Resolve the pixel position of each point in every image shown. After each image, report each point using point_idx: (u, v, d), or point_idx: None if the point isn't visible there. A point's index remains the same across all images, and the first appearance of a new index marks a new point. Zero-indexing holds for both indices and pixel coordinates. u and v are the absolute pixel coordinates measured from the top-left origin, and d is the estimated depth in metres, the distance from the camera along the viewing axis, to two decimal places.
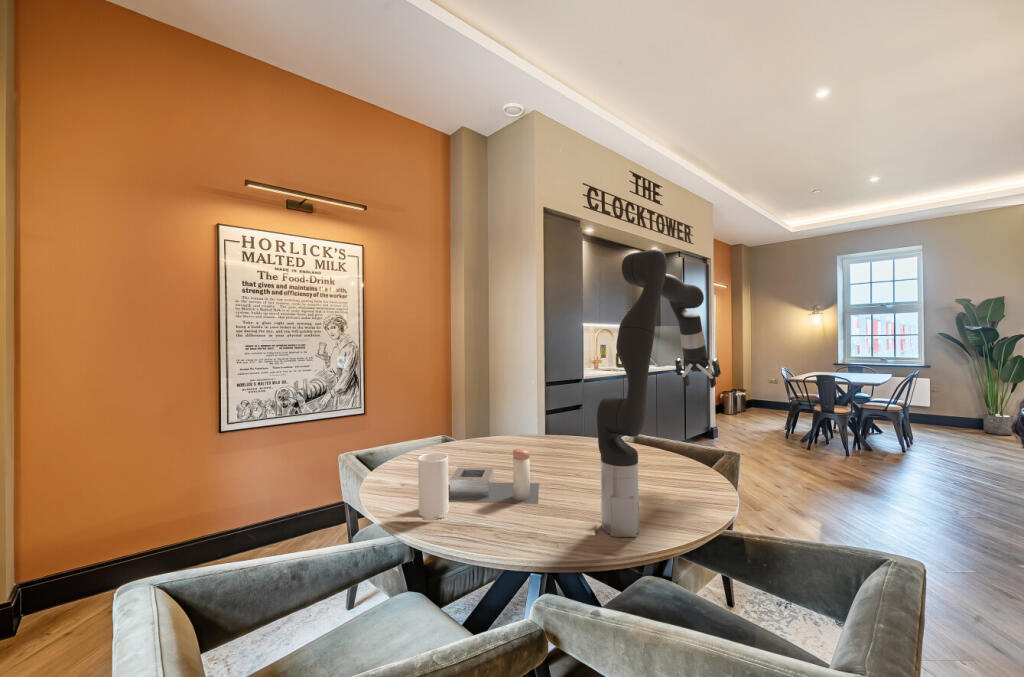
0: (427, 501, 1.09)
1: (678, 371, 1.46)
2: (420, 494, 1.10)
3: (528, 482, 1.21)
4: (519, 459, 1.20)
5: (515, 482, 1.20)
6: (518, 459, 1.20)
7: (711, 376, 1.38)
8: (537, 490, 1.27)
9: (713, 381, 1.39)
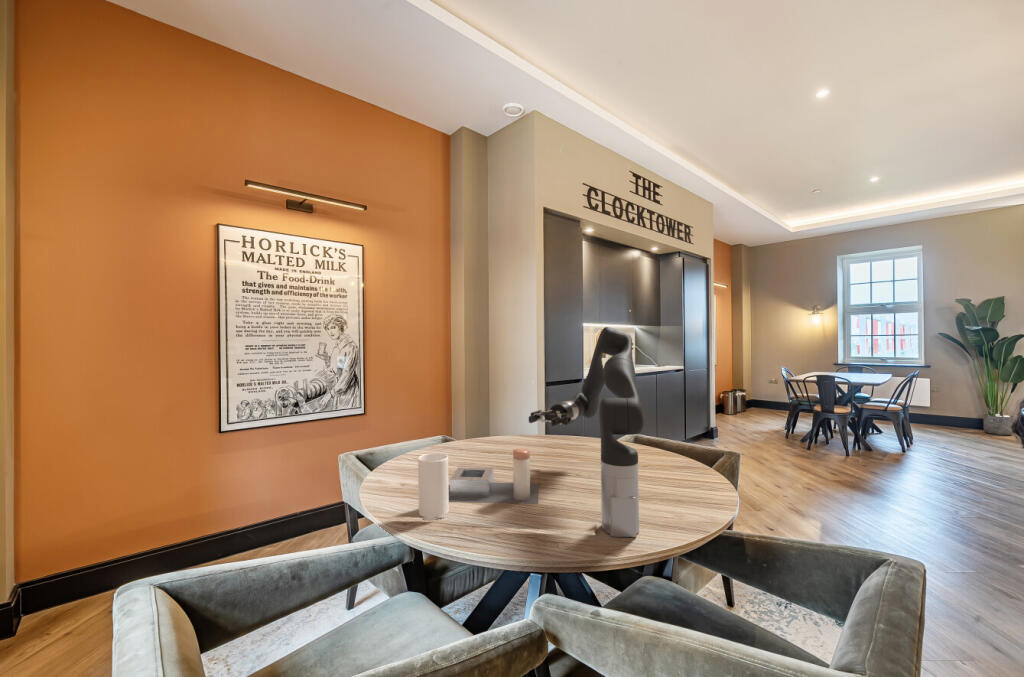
0: (427, 501, 1.09)
1: (534, 412, 1.40)
2: (420, 494, 1.10)
3: (528, 482, 1.21)
4: (519, 459, 1.20)
5: (515, 482, 1.20)
6: (518, 459, 1.20)
7: (560, 416, 1.33)
8: (537, 490, 1.27)
9: (558, 419, 1.31)
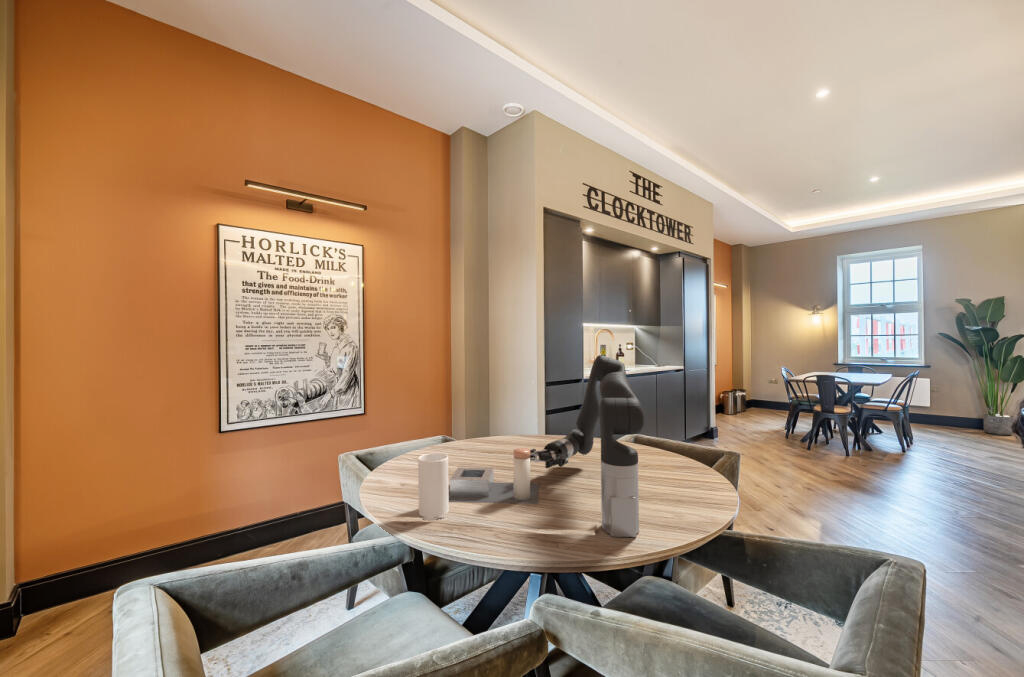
0: (427, 501, 1.09)
1: None
2: (420, 494, 1.10)
3: (528, 482, 1.21)
4: (520, 459, 1.20)
5: (515, 482, 1.20)
6: (519, 459, 1.20)
7: (555, 457, 1.29)
8: (537, 490, 1.27)
9: (552, 461, 1.28)
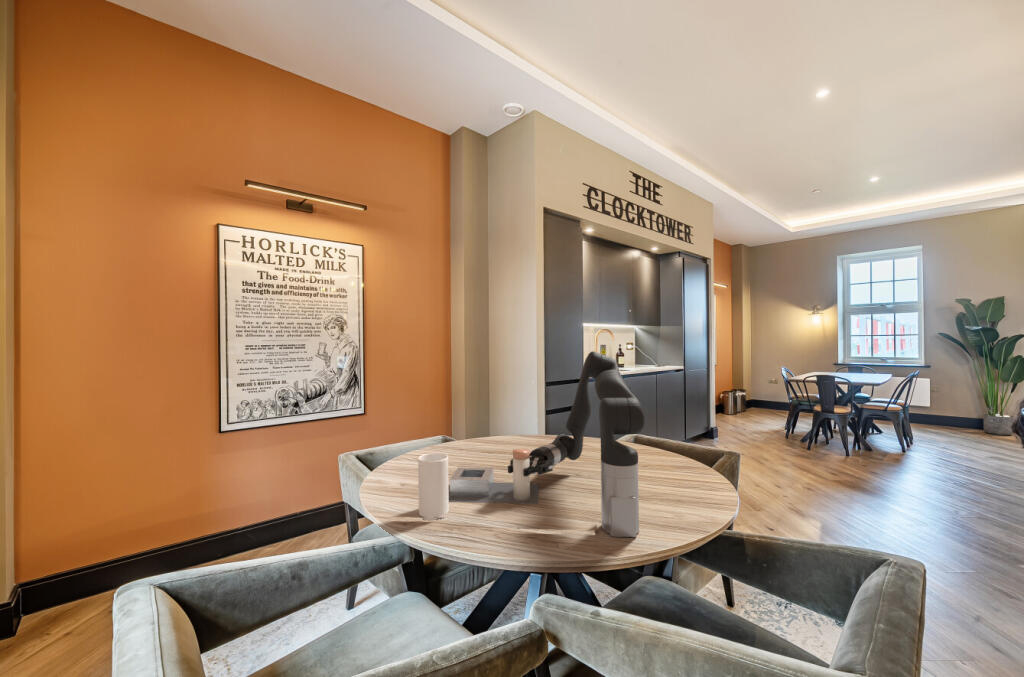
0: (427, 501, 1.09)
1: None
2: (420, 494, 1.10)
3: (528, 482, 1.21)
4: (519, 459, 1.20)
5: (515, 482, 1.20)
6: (518, 459, 1.20)
7: (534, 465, 1.22)
8: (537, 490, 1.27)
9: (531, 469, 1.20)
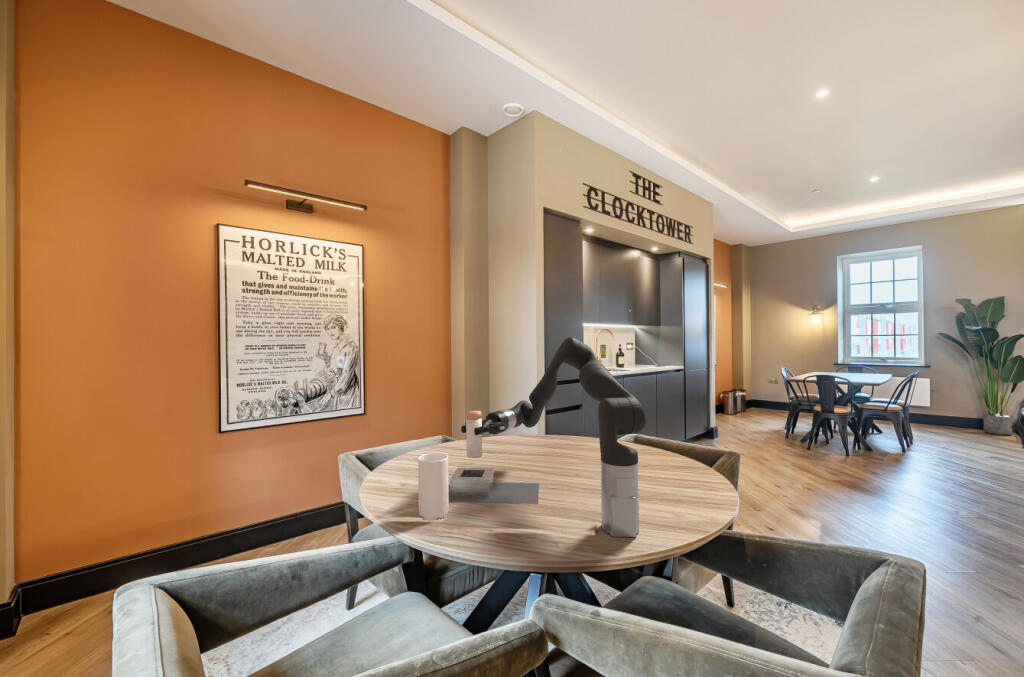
0: (427, 501, 1.09)
1: None
2: (420, 494, 1.10)
3: (480, 441, 1.28)
4: (471, 419, 1.27)
5: (468, 441, 1.28)
6: (470, 419, 1.27)
7: (485, 425, 1.29)
8: (537, 490, 1.27)
9: (482, 428, 1.28)
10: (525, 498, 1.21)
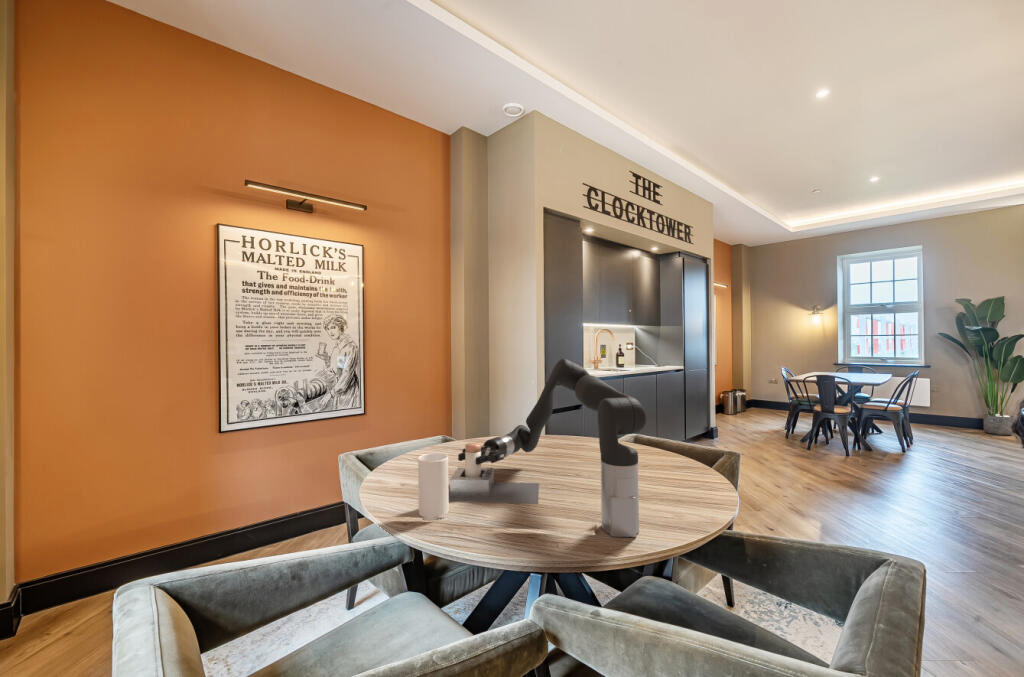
0: (427, 501, 1.09)
1: None
2: (420, 494, 1.10)
3: (479, 474, 1.28)
4: (470, 452, 1.27)
5: (466, 474, 1.28)
6: (469, 452, 1.27)
7: (487, 454, 1.29)
8: (537, 490, 1.27)
9: (483, 457, 1.27)
10: (525, 498, 1.21)
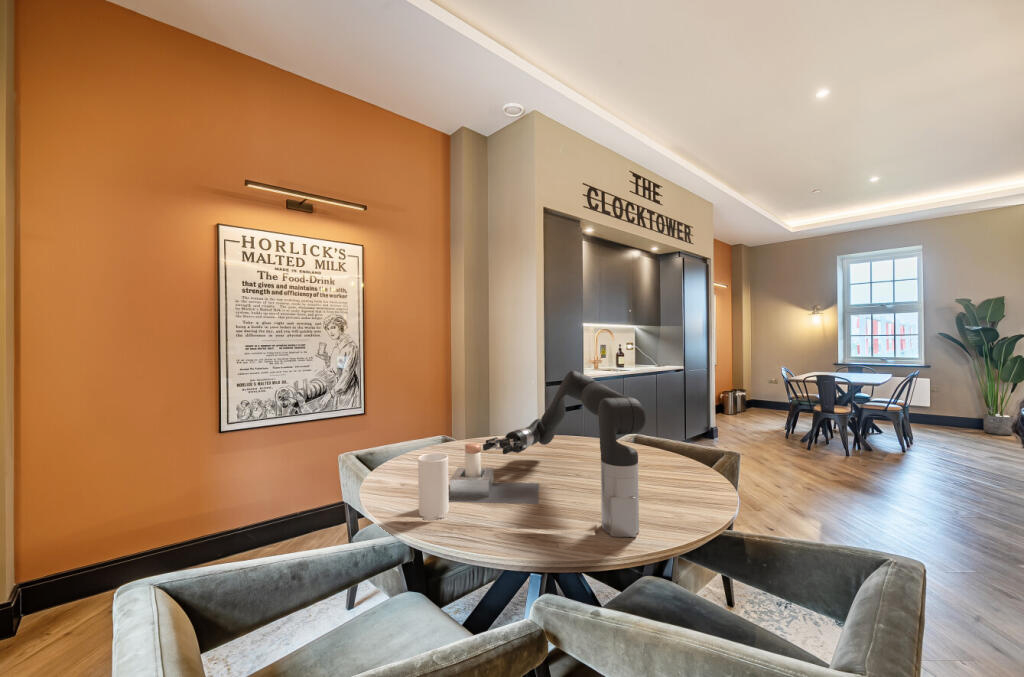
0: (427, 501, 1.09)
1: (489, 440, 1.47)
2: (420, 494, 1.10)
3: (479, 474, 1.28)
4: (470, 453, 1.27)
5: (466, 474, 1.28)
6: (469, 453, 1.27)
7: (512, 444, 1.40)
8: (537, 490, 1.27)
9: (509, 447, 1.38)
10: (525, 498, 1.21)
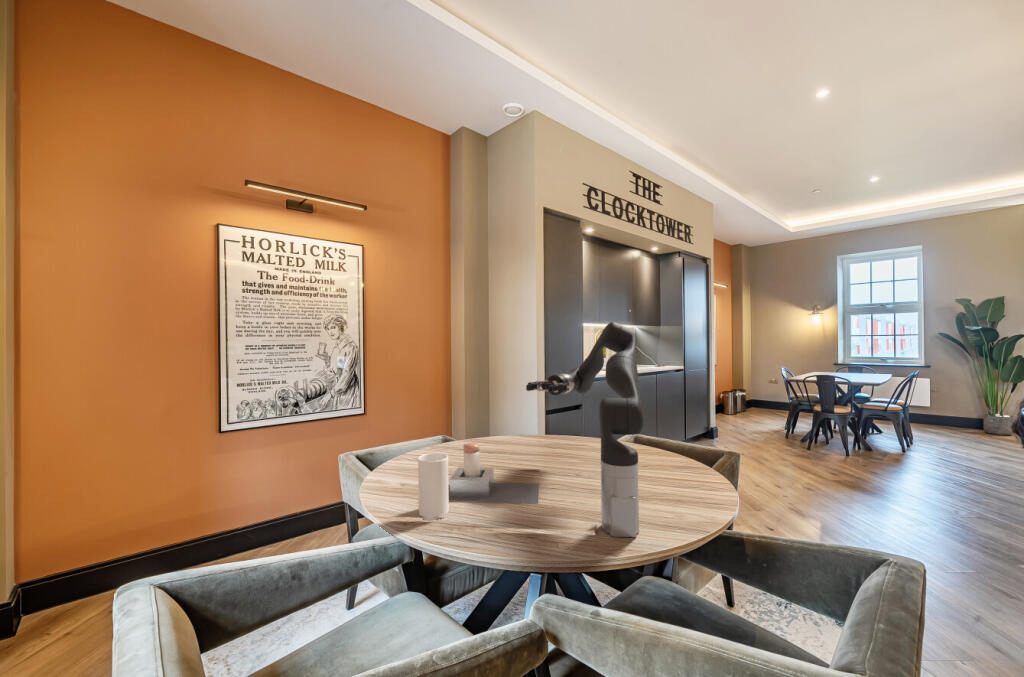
0: (427, 501, 1.09)
1: (531, 382, 1.46)
2: (420, 494, 1.10)
3: (478, 474, 1.28)
4: (469, 452, 1.27)
5: (466, 474, 1.28)
6: (468, 453, 1.27)
7: (557, 384, 1.38)
8: (537, 490, 1.27)
9: (554, 386, 1.36)
10: (525, 498, 1.21)
